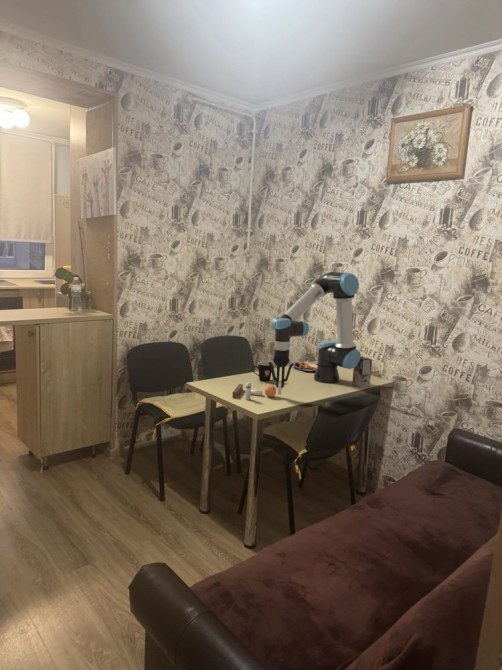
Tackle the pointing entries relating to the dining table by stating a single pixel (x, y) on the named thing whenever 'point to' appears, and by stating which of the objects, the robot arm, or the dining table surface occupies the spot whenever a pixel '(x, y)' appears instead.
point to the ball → (270, 391)
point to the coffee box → (362, 372)
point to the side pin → (248, 390)
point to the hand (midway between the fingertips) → (279, 393)
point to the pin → (256, 392)
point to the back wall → (237, 390)
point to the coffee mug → (264, 371)
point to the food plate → (306, 365)
